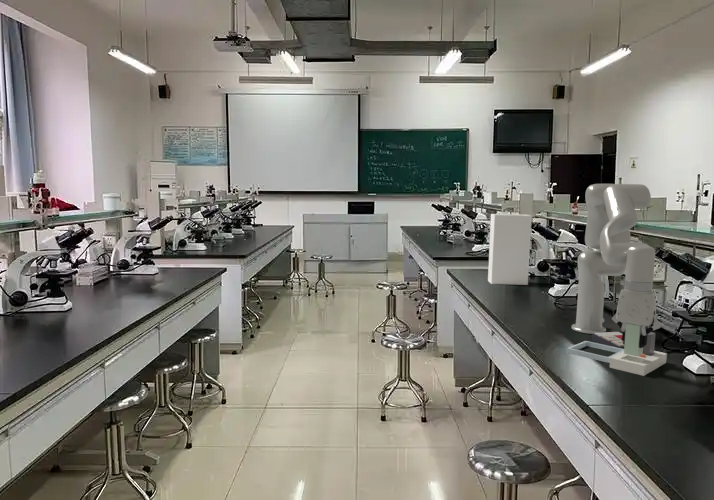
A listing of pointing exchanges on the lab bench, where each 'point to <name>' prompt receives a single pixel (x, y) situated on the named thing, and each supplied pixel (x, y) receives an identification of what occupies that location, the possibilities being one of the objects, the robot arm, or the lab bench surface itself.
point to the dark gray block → (649, 344)
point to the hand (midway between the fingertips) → (633, 344)
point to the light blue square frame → (576, 351)
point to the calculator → (609, 339)
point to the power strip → (638, 362)
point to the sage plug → (632, 340)
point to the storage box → (509, 249)
